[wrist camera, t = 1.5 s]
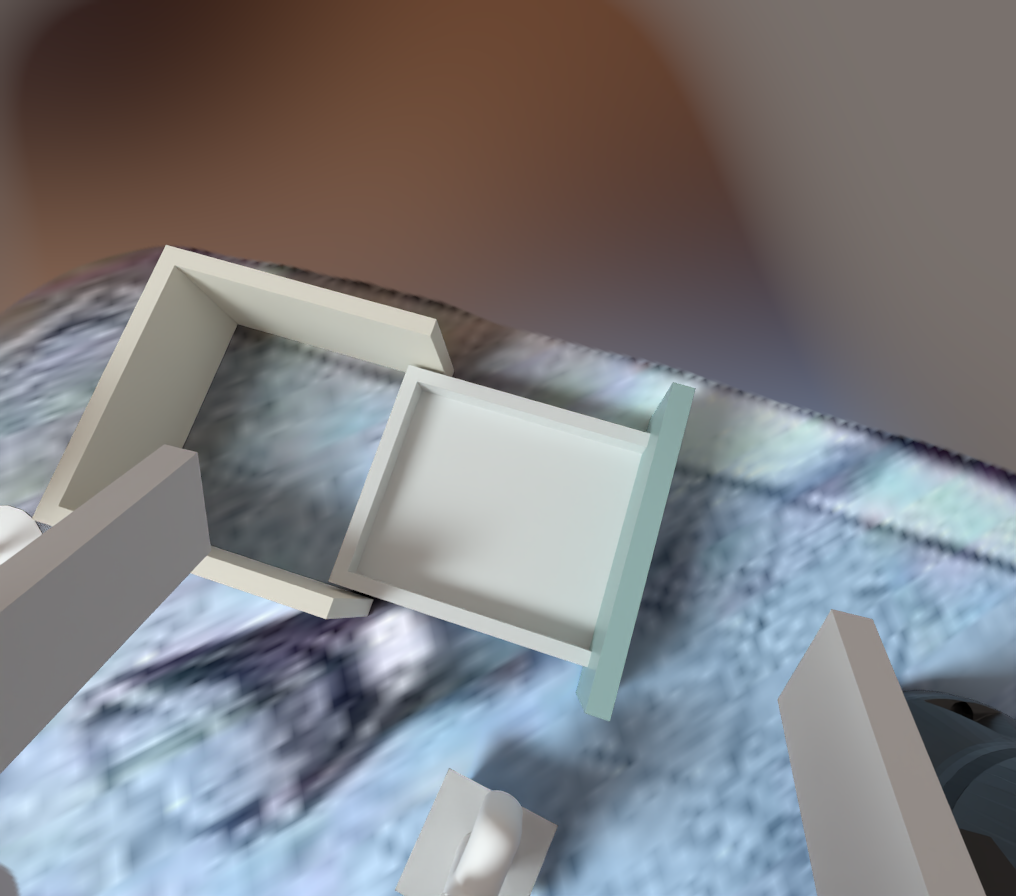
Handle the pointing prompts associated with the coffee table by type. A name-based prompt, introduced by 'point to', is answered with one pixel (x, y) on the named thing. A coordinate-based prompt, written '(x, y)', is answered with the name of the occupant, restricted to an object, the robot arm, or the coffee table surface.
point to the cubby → (189, 373)
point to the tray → (516, 520)
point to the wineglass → (15, 531)
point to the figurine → (476, 844)
